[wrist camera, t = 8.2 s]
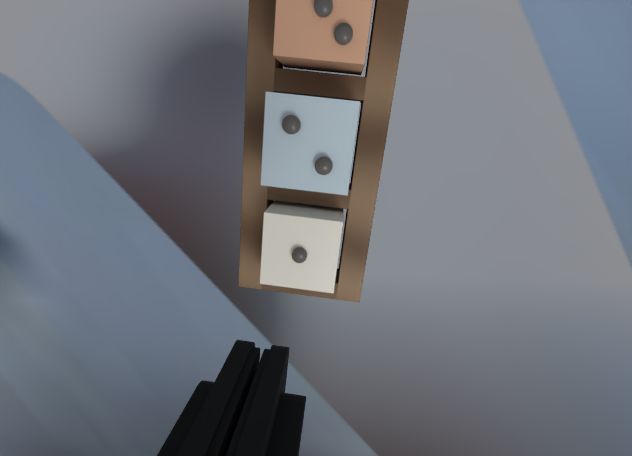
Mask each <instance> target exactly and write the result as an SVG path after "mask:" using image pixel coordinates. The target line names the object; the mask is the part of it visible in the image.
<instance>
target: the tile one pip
mask: <svg viewBox="0 0 632 456" xmlns="http://www.w3.org/2000/svg"><path fill="white" fill-rule="evenodd" d="M342 227H343V208H335V207H327V206H318V205H310V204H302V203H293V202H285V201H277V200H275V201H274V202H273V203H272V204H271V205H270V206H269V207H268V209H267V210H266V211H265V212H264V220H263V237H262V255H261V272H260V284H265V285H273V286H281V287H288V288H296V289H303V290H311V291H318V292H326V293H333V294H334V286H335V279H336V272H337V264H338V257H339V249H340V242H341V234H342Z"/></svg>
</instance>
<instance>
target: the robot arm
mask: <svg viewBox="0 0 632 456" xmlns="http://www.w3.org/2000/svg"><path fill="white" fill-rule="evenodd" d="M288 357H289V347H282V346H276V345H272V347H271V349H264V352H263V355H262V357H261V360H260V348H256V347H255V343H254V342H249V341H242V340H237V341H236V342H235V344H234V346H233V348H232V350H231V352H230V354H229V356H228V357H227V359H226V361H225V363H224V365H223V367H222V369H221V371H220V373H219V375H218V377H217V379H216V381H215V382H209V381H203V380H202V381H201V382H200V383H199V384H198V386H197V388H196V389H195V391H194V393H193V394H192V396H191V398H190V400H189V401H188V403H187V405H186V407H185V408H184V410H183V412H182V414H181V415H180V417H179V419H178V421H177V422H176V424H175V426H174V427H173V429H172V431H171V433H170V434H169V436H168V438H167V440H166V441H165V443H164V445H163V447H162V448H161V450H160V452H159V453H158V455H157V456H298V455H299V448H300V441H301V433H302V426H303V418H304V410H305V402H306V396H300V395H294V394H287V393H285V386H286V377H287V367H288ZM259 360H260V363H259Z"/></svg>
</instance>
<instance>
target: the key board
mask: <svg viewBox="0 0 632 456" xmlns="http://www.w3.org/2000/svg"><path fill="white" fill-rule="evenodd" d="M408 2H409V0H376V1H375V8H374V15H373V23H372V30H371V37H370V45H369V52H368V59H367V67H366V75H365V77H358V76H348V75H338V74H329V73H319V72H310V71H300V70H290V69H283V65H282V64H281V63H280V62H279V61H278V60H277V59H276V58H275V57H274V56H273V47H274V30H275V12H276V0H249V19H248V46H247V49H248V50H247V74H246V101H245V102H246V103H245V127H244V155H243V183H242V210H241V212H242V213H241V237H240V238H241V239H240V264H239V286H240V287H248V288H255V289H262V290H270V291H277V292H285V293H292V294H300V295H308V296H315V297H323V298H330V299H338V300H345V301H353V302H360V295H361V290H362V283H363V277H364V271H365V265H366V259H367V253H368V247H369V241H370V235H371V228H372V222H373V215H374V210H375V204H376V198H377V191H378V186H379V179H380V173H381V167H382V161H383V155H384V149H385V142H386V136H387V130H388V124H389V118H390V112H391V106H392V99H393V93H394V88H395V81H396V75H397V69H398V63H399V57H400V50H401V44H402V39H403V32H404V26H405V20H406V14H407V8H408ZM266 92H275V93H284V94H294V95H303V96H313V97H322V98H331V99H341V100H350V101H360V103H361V111H360V117H359V125H358V133H357V140H356V147H355V155H354V162H353V170H352V176H351V183H350V184H349V189H348V196H347V195H339V194H330V193H322V192H314V191H305V190H297V189H288V188H280V187H272V186H263V185H261V169H262V151H263V132H264V114H265V95H266ZM274 200H277V201H285V202H293V203H302V204H310V205H318V206H327V207H335V208H343V209H347V212H346V221H345V227H344V234H343V242H342V249H341V256H340V264H339V269H337V272H336V279H335V286H334V294H333V293H326V292H318V291H311V290H303V289H296V288H288V287H281V286H273V285H265V284H260V272H261V255H262V237H263V220H264V212H265V211H266V210H267V209H268V207H269V206H270V205H271V204H272V203H273V202H274Z"/></svg>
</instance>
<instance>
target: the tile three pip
mask: <svg viewBox="0 0 632 456" xmlns="http://www.w3.org/2000/svg"><path fill="white" fill-rule="evenodd" d="M372 5H373V0H276V12H275V30H274V47H273V56H274V57H275V58H276V59H277V60H278V61H279V62H280V63H281V64H282V65H283V66H284V67H288V68H298V69H307V70H317V71H327V72H338V73H346V74H356V75H361V73H362V70H363V67H364V64H365V57H366V50H367V42H368V34H369V27H370V20H371V12H372Z"/></svg>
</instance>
